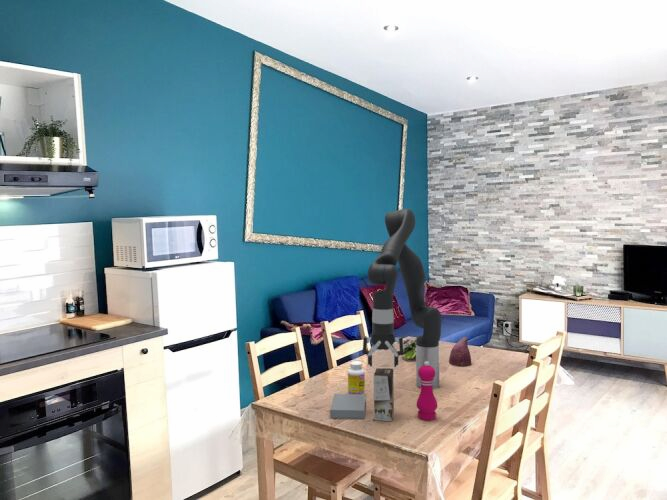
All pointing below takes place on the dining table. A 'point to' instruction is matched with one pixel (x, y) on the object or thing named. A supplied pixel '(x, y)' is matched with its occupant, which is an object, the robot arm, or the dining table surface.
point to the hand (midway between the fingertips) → (383, 366)
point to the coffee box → (383, 394)
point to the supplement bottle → (356, 378)
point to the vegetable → (460, 354)
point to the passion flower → (409, 349)
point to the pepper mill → (426, 393)
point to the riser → (348, 406)
